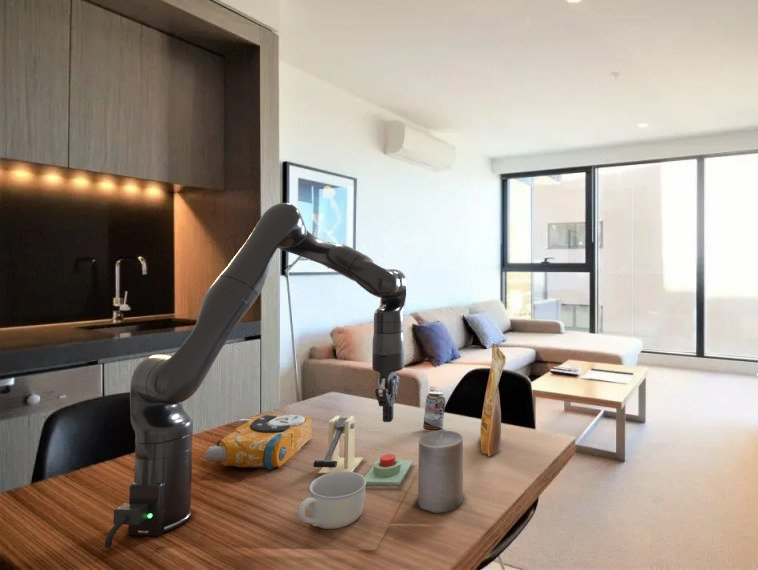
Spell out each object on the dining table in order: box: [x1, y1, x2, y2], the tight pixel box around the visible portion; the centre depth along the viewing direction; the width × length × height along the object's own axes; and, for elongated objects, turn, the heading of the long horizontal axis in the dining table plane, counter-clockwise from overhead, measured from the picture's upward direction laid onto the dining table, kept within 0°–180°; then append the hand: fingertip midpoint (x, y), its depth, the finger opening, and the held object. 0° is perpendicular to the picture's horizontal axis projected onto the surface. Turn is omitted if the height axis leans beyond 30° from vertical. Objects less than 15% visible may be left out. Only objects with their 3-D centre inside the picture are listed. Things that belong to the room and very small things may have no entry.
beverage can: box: [422, 390, 446, 432], centre depth 143 cm, size 6×7×12 cm
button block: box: [364, 457, 413, 486], centre depth 111 cm, size 12×9×4 cm
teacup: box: [297, 471, 367, 530], centre depth 90 cm, size 14×11×8 cm
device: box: [204, 414, 313, 471], centre depth 126 cm, size 23×8×30 cm
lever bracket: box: [317, 415, 364, 474], centre depth 115 cm, size 9×8×13 cm
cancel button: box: [379, 453, 396, 467], centre depth 111 cm, size 4×4×2 cm
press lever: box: [313, 417, 348, 468], centre depth 111 cm, size 13×5×2 cm, turn 178°
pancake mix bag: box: [479, 343, 507, 457], centre depth 131 cm, size 7×19×28 cm, turn 4°
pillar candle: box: [417, 430, 464, 514], centre depth 99 cm, size 10×10×15 cm
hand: (388, 420), depth 111 cm, fingers closed
